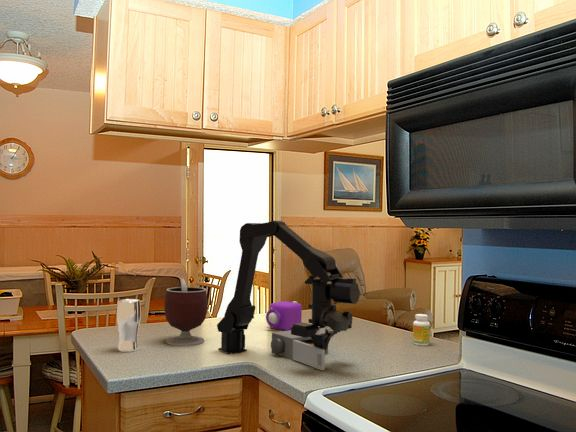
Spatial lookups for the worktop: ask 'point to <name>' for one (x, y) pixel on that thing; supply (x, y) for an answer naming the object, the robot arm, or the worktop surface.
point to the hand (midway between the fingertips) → (322, 357)
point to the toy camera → (284, 315)
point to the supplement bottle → (421, 330)
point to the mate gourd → (185, 312)
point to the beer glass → (128, 324)
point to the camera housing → (287, 343)
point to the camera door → (309, 354)
